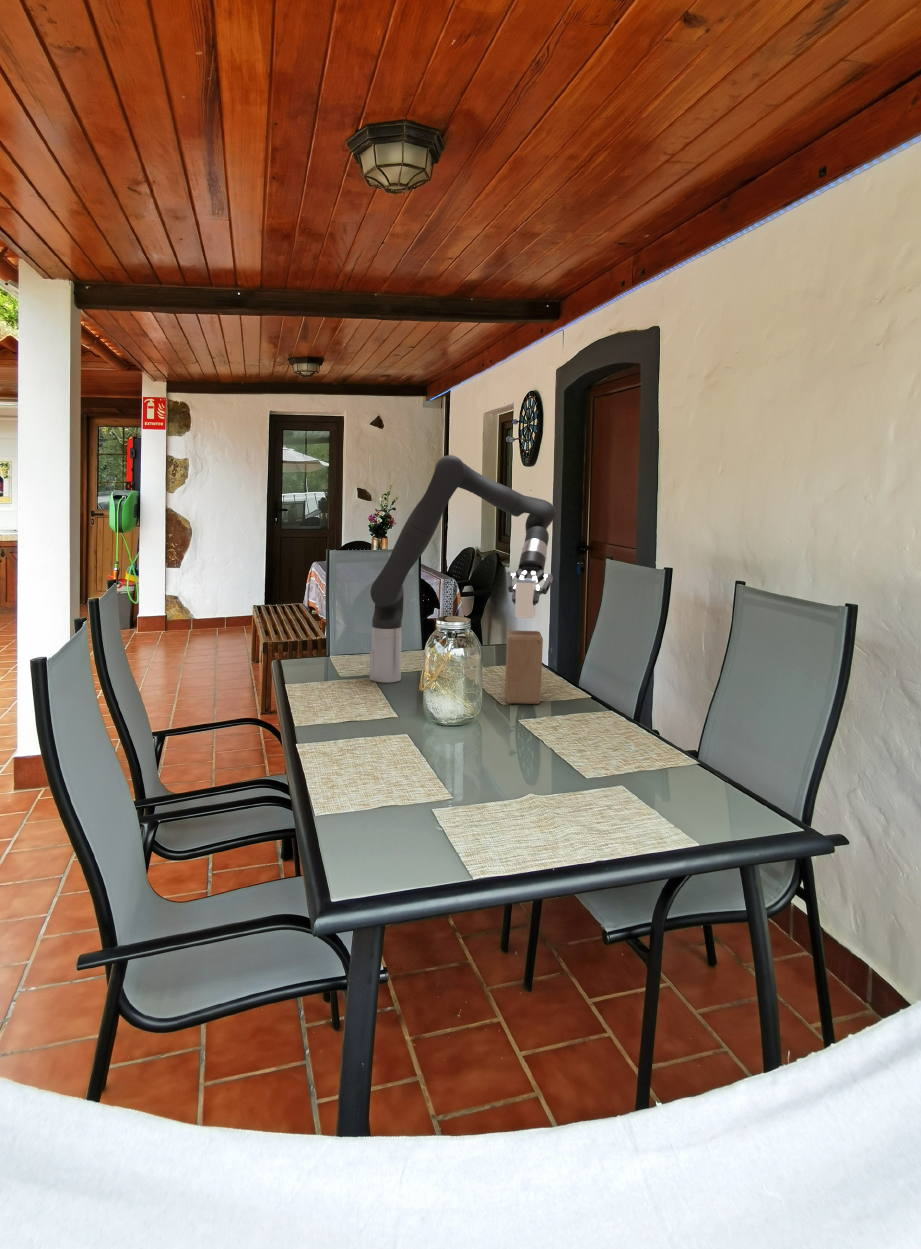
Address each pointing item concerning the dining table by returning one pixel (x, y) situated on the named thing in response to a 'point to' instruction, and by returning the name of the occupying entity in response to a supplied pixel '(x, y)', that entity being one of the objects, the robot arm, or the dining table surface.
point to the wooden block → (523, 667)
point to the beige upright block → (525, 597)
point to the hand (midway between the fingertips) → (524, 602)
